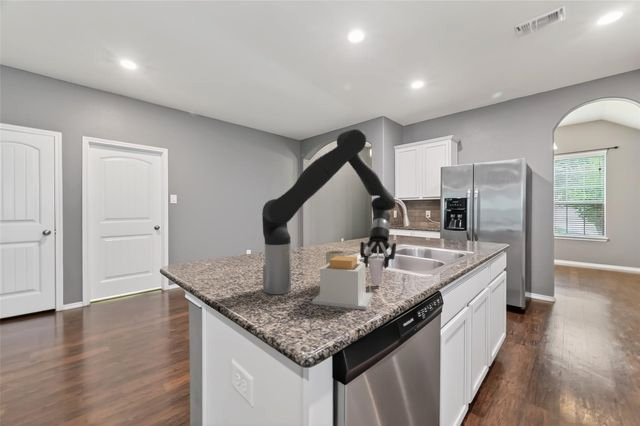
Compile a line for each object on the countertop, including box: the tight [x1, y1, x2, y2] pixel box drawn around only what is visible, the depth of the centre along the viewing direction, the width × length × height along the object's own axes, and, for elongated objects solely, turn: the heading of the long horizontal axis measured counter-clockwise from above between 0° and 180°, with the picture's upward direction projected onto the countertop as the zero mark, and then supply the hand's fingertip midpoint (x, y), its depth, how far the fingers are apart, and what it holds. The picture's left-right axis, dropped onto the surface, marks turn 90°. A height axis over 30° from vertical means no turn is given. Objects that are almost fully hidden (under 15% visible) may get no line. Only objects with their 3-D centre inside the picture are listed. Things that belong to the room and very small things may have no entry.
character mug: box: [325, 250, 345, 265], centre depth 104 cm, size 11×7×13 cm, turn 13°
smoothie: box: [368, 246, 385, 286], centre depth 103 cm, size 6×6×14 cm
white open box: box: [311, 262, 374, 311], centre depth 89 cm, size 17×13×11 cm
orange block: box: [329, 255, 358, 270], centre depth 89 cm, size 7×7×8 cm
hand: (375, 266), depth 101 cm, fingers closed on smoothie, 6 cm apart
